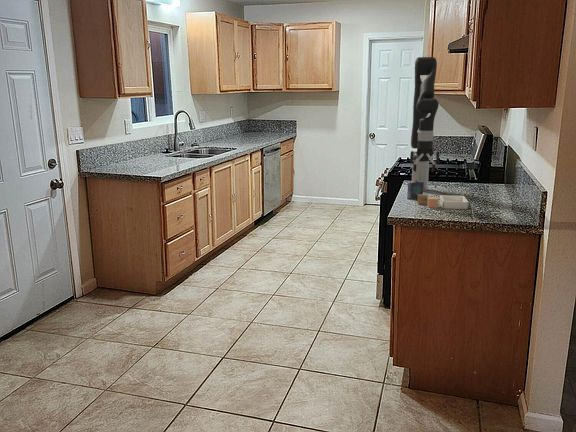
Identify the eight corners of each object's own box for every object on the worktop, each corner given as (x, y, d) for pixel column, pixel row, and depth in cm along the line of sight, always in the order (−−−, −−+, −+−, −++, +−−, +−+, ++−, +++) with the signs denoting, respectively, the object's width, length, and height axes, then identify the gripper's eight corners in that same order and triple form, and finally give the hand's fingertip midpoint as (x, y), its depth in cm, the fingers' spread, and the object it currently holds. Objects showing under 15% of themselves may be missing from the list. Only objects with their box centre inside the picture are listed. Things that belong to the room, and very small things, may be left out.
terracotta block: (427, 205, 254) (427, 197, 253) (436, 206, 253) (437, 197, 252) (428, 207, 249) (428, 199, 248) (437, 208, 249) (438, 199, 248)
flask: (408, 199, 269) (409, 179, 266) (405, 198, 272) (406, 178, 269) (423, 198, 272) (424, 178, 269) (420, 197, 274) (421, 177, 272)
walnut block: (417, 202, 261) (417, 194, 260) (426, 202, 260) (426, 194, 259) (418, 204, 257) (418, 196, 256) (427, 204, 256) (427, 196, 255)
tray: (439, 201, 262) (439, 195, 261) (463, 202, 260) (463, 195, 259) (442, 208, 248) (442, 201, 247) (468, 209, 245) (468, 202, 244)
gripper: (439, 139, 253) (437, 171, 257) (410, 138, 256) (409, 170, 260) (441, 140, 246) (439, 173, 250) (411, 140, 249) (409, 172, 252)
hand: (423, 171), depth 255 cm, fingers open, 8 cm apart
